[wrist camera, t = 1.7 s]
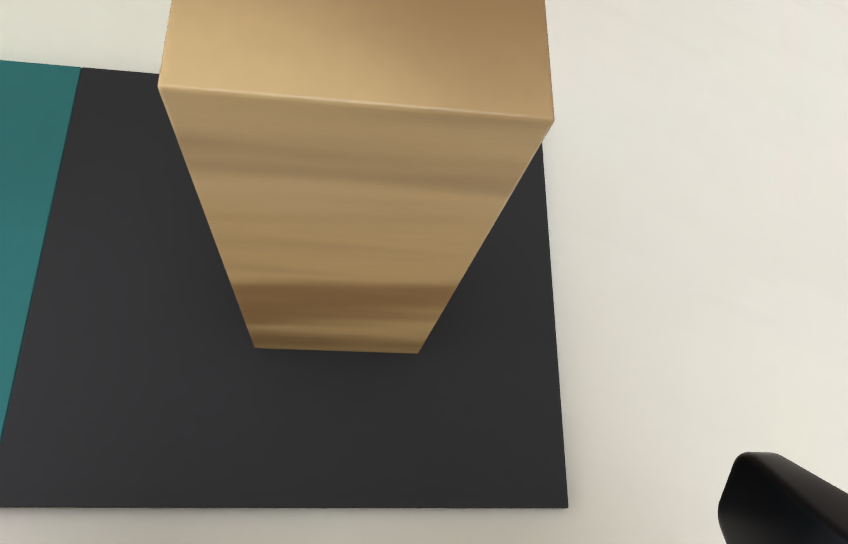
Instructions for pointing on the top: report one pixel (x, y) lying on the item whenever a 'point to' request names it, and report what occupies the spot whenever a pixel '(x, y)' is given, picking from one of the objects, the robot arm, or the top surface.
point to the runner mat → (237, 341)
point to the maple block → (354, 152)
